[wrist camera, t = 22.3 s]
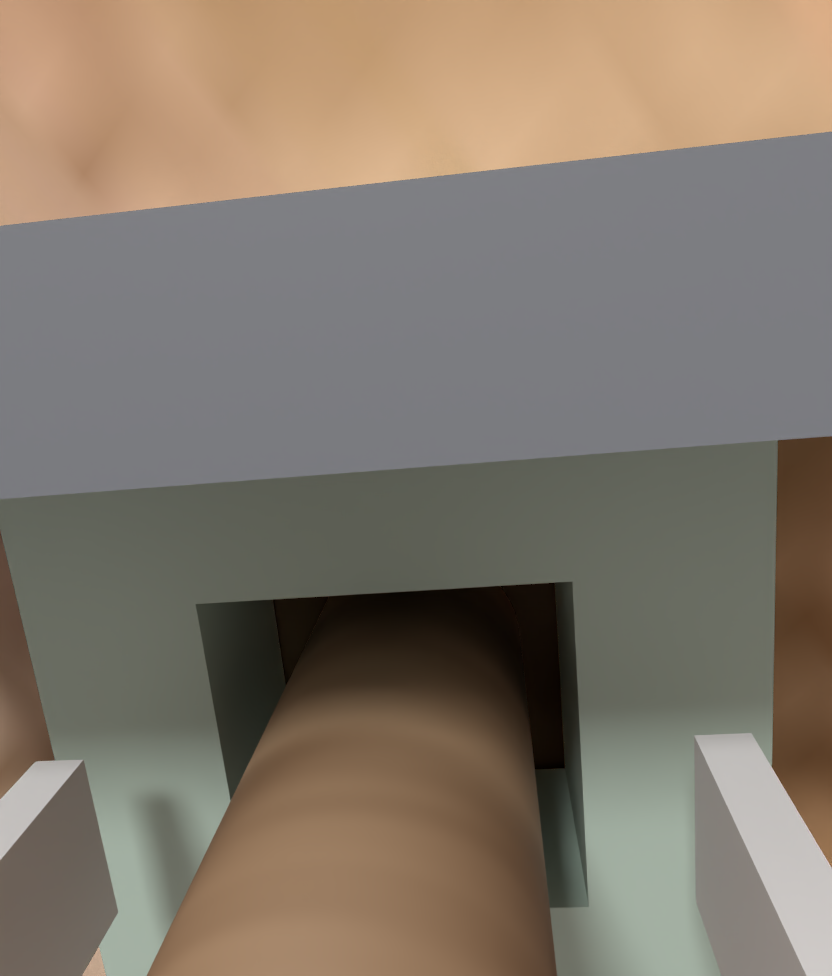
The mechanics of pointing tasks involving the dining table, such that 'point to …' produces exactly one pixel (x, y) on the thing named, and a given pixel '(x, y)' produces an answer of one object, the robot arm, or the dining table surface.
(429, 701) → the dowel
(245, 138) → the dining table surface
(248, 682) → the block
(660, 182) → the wall
